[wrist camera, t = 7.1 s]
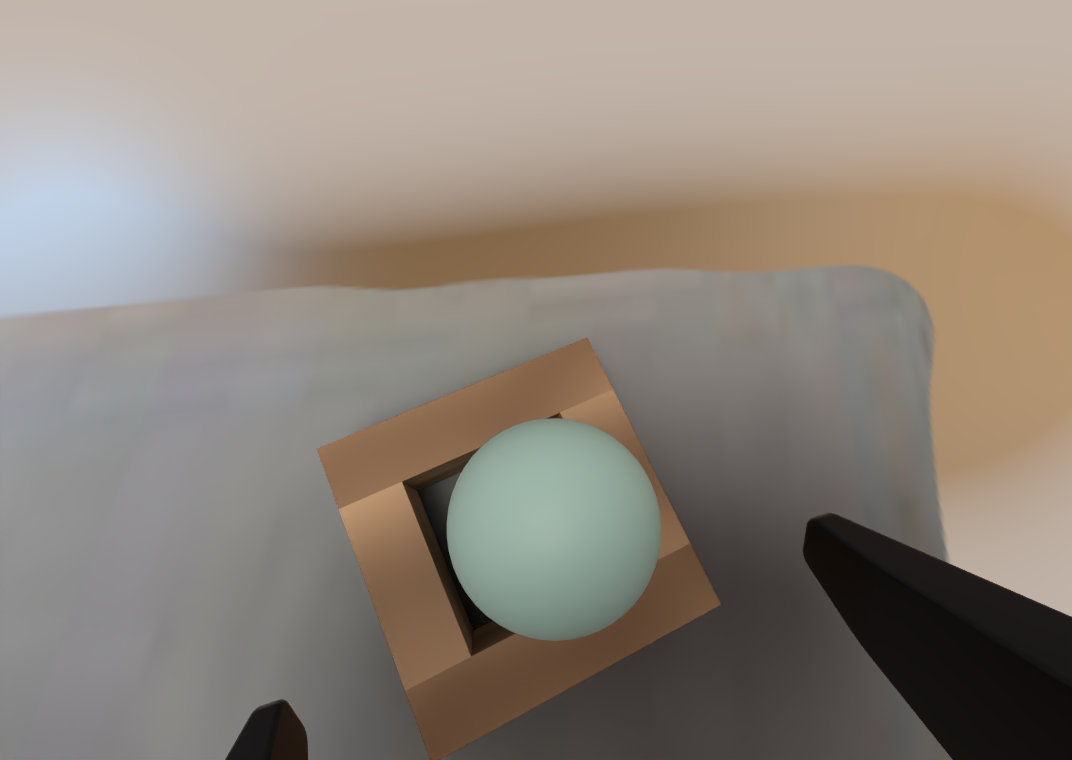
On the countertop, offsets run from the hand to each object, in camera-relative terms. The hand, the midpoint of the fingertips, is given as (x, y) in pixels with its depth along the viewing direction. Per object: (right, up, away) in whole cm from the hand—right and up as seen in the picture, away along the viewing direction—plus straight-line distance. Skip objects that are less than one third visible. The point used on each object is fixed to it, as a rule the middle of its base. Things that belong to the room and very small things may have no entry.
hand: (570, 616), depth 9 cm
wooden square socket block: (-1, -2, +11) cm, 11 cm away
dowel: (-1, -2, +11) cm, 11 cm away
